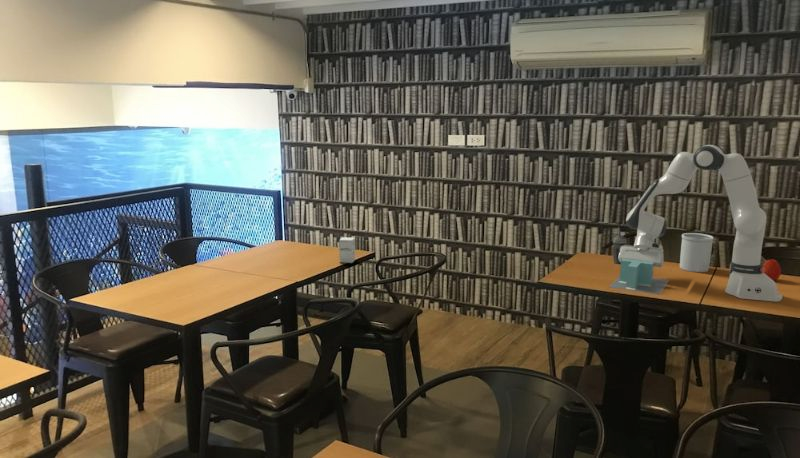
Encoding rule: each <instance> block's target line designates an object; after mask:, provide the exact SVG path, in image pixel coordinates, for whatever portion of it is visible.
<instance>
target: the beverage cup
mask: <svg viewBox="0 0 800 458" xmlns="http://www.w3.org/2000/svg"><path fill="white" fill-rule="evenodd" d="M617 230H618V231H617V235H616V236H615V237H614V238H613V239H612V247H613V250H612V251H613V264H614V265H620V266H621V262H620V261H619V259H618V256H619V253H620V248H621V246H624V245H628V241H627V238H626V237H625V236H624V235H620V227H619V226H618V227H617Z"/></svg>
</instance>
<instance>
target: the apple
mask: <svg viewBox="0 0 800 458" xmlns="http://www.w3.org/2000/svg"><path fill="white" fill-rule="evenodd" d="M779 263H780V262H778V261H777V260H776V259H773V258H771V259H767V260H765V262H764V263H763V264H762V265H764V267H765V269H766V271H765V272H764V273H765V274H766V275H767V276H768V277H769V278H771V279H772V280H773V281H774V282H775V281H777V280H778V279H779V278H780V277H781V275H782V270H781V266H780V264H779Z"/></svg>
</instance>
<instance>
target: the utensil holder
mask: <svg viewBox="0 0 800 458" xmlns="http://www.w3.org/2000/svg"><path fill="white" fill-rule="evenodd" d="M713 241H714V236H713V235H709V234H706V233H705V234H704V233H697V232H686V233H685V232H684V233H682V234H681V246H680V257H679V258H680V259H679V268H680V269H681V270H684V271H688V272H692V273H693V272H694V273H706V272H708V271H710V270H709V269H710V263H711V257H712V256H711V255H712V249H713Z"/></svg>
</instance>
